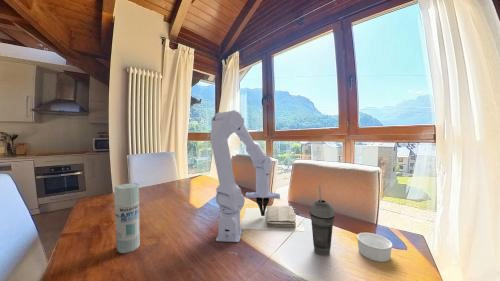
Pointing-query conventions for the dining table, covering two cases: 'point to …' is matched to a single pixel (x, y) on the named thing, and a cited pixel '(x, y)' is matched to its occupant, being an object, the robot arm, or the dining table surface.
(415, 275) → the dining table surface
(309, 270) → the dining table surface
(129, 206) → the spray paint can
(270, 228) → the placemat
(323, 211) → the beverage cup
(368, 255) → the ramekin
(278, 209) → the washcloth
